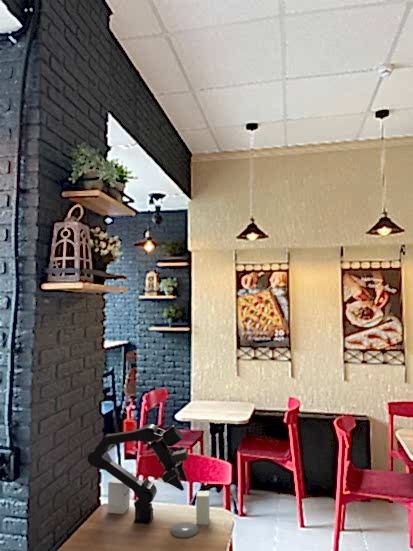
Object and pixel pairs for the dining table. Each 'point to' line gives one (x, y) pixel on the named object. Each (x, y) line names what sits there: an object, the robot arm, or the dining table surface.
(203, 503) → the block
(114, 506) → the supplement box
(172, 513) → the dining table surface
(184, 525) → the slate coaster
